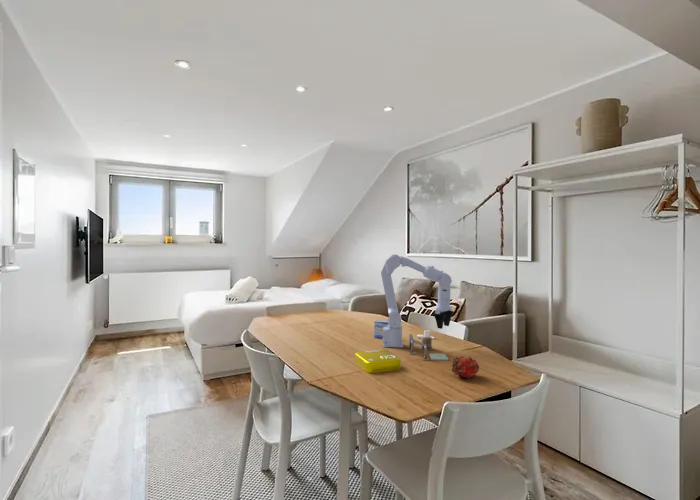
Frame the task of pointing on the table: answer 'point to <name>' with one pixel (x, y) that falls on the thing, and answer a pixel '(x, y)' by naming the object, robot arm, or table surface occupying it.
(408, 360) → the table surface
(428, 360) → the buzz wire
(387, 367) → the element tile
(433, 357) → the pad
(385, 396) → the table surface
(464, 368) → the dragon fruit
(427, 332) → the teacup and saucer
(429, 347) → the brown domed cylinder
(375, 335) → the medicine box
